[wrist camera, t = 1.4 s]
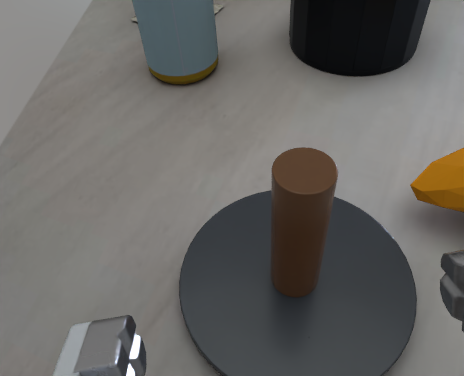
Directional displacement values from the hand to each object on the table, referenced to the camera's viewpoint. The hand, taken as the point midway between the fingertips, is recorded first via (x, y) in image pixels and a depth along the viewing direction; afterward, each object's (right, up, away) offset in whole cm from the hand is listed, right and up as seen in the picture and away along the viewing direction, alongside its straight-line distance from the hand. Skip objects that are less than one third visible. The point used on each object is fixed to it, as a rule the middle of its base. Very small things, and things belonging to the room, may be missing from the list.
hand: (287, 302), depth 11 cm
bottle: (-6, +15, +32) cm, 35 cm away
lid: (+2, -3, +14) cm, 15 cm away
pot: (+11, +18, +33) cm, 39 cm away
